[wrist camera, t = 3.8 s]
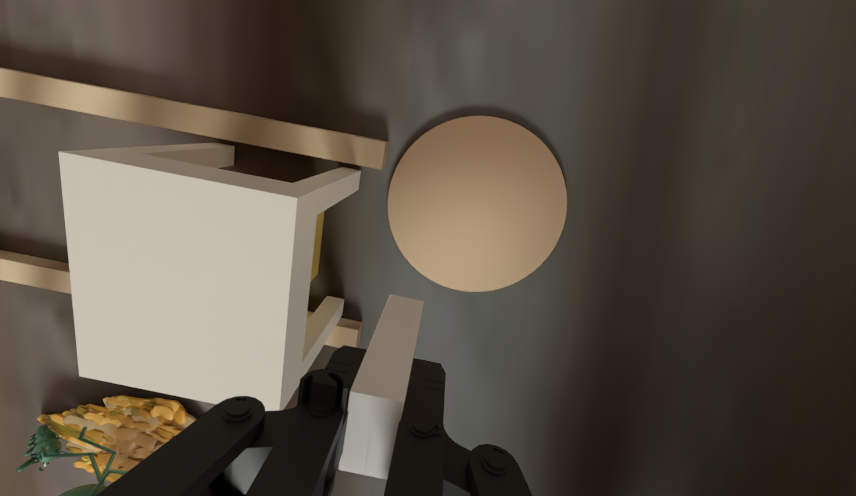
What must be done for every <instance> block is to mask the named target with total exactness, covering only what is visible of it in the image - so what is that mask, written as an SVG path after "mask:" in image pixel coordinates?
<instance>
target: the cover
mask: <svg viewBox="0 0 856 496" xmlns="http://www.w3.org/2000/svg"><path fill="white" fill-rule="evenodd" d="M234 152H235V146H231V145H226V144H221V143H198V144H181V145H163V146H146V147H128V148H111V149H93V150H76V151H59V162H60V173H61V184H62V195H63V205H64V216H65V227H66V238H67V249H68V259H69V270H70V281H71V292H72V303H73V314H74V324H75V335H76V346H77V357H78V368H79V376H81V377H86V378H90V379H95V380H100V381H105V382H110V383H115V384H120V385H125V386H130V387H135V388H139V389H144V390H149V391H154V392H159V393H164V394H169V395H174V396H179V397H184V398H188V399H193V400H198V401H203V402H208V403H213V404H218V403H220V402H222V401H224V400H225V399H228V398H232V397H236V396H249V397H254V398H256V399H258V400H259V401H261V402H262V403H263V405H264V407H265V411H279V410H284V408H285V406H286V405H287V403H288V401H289V400H290V398H291V397H292V395H293V393H294V392H295V390H296V389H297V387H298V385H299V384H300V379H301V378H302V377H303V376H304V375H305V374H306V373H307V371H308V369H309V368H310V366H311V365H312V363H313V361H314V360H315V358H316V356H317V355H318V353H319V352H320V350H321V348H322V347H323V345H324V344H325V342H326V340H327V339H328V337H329V336H330V334H331V332H332V331H333V329H334V328H335V326H336V324H337V323H338V321H339V319H340V318H341V316H342V314H343V306H344V299H341V298H336V297H330V296H327V297H326V298H325V299H324V300H323V302H322V303H321V304H320V306H319V307H318V308H317V309H316V311H315V312H314V313H313V315H312V316H311V317H310V318H309V320H308V321H307V322H306V319H307V309H308V299H309V289H310V279H311V269H312V259H313V250H314V240H315V230H316V220H317V215H318V214H320V213H321V212H323V211H325V210H326V209H328V208H329V207H331V206H333V205H334V204H336V203H338V202H339V201H341V200H342V199H344V198H346V197H347V196H349V195H351V194H352V193H354V192H356V191H357V190H359V183H360V175H361V170H356V169H351V168H346V167H340V168H337V169H334V170H331V171H328V172H325V173H322V174H319V175H316V176H313V177H310V178H307V179H303V180H300V181H297V182H294V183H289V182H284V181H279V180H274V179H269V178H264V177H259V176H253V175H248V174H243V173H238V172H233V171H228V170H222V169H217V168H222V167H228V166H234Z"/></svg>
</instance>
